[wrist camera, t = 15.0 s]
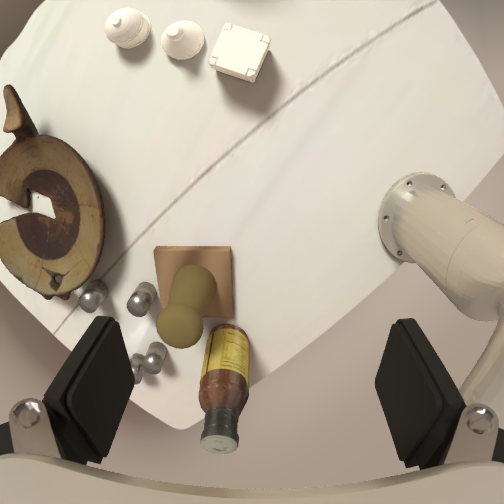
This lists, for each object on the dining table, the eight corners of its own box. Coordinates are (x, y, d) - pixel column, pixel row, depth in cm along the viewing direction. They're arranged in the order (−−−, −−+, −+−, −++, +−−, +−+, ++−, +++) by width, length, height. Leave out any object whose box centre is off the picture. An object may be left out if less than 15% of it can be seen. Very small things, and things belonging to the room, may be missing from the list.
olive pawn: (205, 310, 44) (192, 364, 34) (166, 291, 43) (142, 341, 33) (224, 277, 42) (214, 328, 31) (182, 256, 40) (159, 302, 30)
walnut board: (230, 246, 41) (229, 251, 40) (232, 311, 45) (232, 317, 44) (156, 246, 42) (153, 250, 40) (165, 309, 46) (163, 314, 44)
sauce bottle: (227, 358, 49) (214, 465, 31) (200, 334, 47) (174, 442, 29) (259, 339, 47) (258, 450, 29) (232, 313, 46) (218, 425, 27)
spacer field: (154, 282, 44) (145, 298, 40) (171, 369, 51) (165, 387, 46) (89, 279, 44) (76, 294, 40) (113, 362, 51) (105, 379, 47)
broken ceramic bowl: (5, 259, 43) (-21, 279, 36) (19, 83, 32) (-15, 83, 25) (108, 302, 46) (88, 330, 39) (144, 101, 34) (119, 98, 27)
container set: (269, 47, 32) (271, 35, 27) (253, 84, 34) (252, 78, 29) (123, 10, 29) (105, -2, 24) (108, 45, 31) (88, 37, 26)
